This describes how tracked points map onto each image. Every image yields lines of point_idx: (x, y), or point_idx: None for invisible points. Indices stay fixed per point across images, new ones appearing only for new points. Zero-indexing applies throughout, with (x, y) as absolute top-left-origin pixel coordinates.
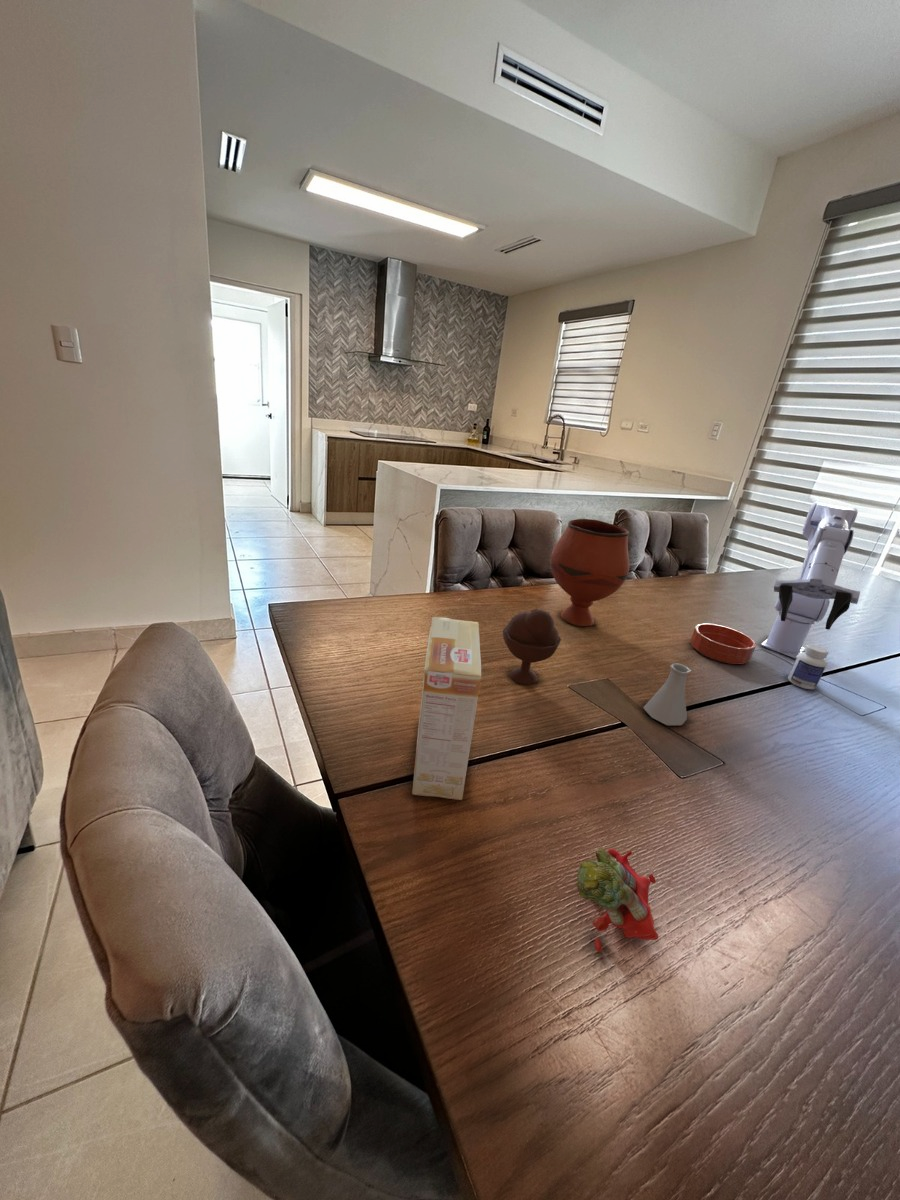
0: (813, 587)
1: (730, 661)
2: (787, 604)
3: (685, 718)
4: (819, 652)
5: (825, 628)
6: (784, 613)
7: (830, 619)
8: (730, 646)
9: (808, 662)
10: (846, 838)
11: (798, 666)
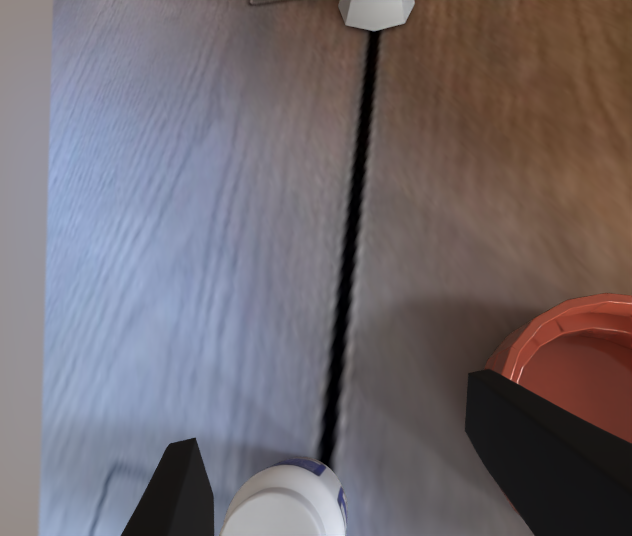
0: None
1: (496, 349)
2: (557, 436)
3: (344, 14)
4: (245, 500)
5: (210, 488)
6: (490, 381)
7: (163, 469)
8: (536, 326)
9: (279, 467)
10: (95, 26)
11: (313, 468)
